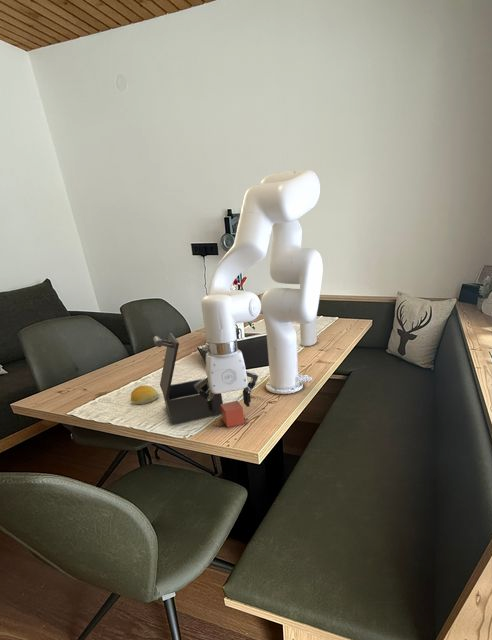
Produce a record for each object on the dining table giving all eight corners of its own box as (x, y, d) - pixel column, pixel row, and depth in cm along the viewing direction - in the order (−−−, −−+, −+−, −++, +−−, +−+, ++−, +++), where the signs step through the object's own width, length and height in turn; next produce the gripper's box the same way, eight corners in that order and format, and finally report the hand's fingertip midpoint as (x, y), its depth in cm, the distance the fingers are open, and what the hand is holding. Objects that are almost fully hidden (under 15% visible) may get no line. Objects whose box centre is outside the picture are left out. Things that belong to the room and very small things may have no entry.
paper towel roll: (299, 346, 163) (298, 296, 152) (301, 342, 168) (300, 294, 157) (315, 346, 162) (315, 296, 151) (316, 342, 167) (316, 294, 156)
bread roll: (131, 407, 112) (128, 395, 110) (132, 396, 120) (129, 385, 118) (159, 402, 115) (156, 390, 113) (158, 392, 122) (155, 381, 120)
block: (239, 416, 104) (237, 400, 102) (244, 423, 100) (242, 407, 98) (222, 420, 102) (220, 404, 100) (227, 427, 98) (224, 411, 96)
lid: (172, 333, 102) (153, 328, 99) (179, 343, 92) (158, 338, 89) (162, 385, 107) (143, 382, 104) (167, 400, 97) (148, 397, 95)
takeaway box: (214, 398, 116) (210, 377, 112) (224, 413, 106) (220, 390, 103) (166, 408, 111) (161, 386, 107) (172, 424, 101) (166, 401, 97)
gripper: (191, 355, 84) (201, 420, 93) (259, 345, 90) (264, 407, 99) (185, 348, 90) (196, 409, 99) (250, 339, 96) (255, 397, 105)
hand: (230, 408), depth 99 cm, fingers open, 9 cm apart
